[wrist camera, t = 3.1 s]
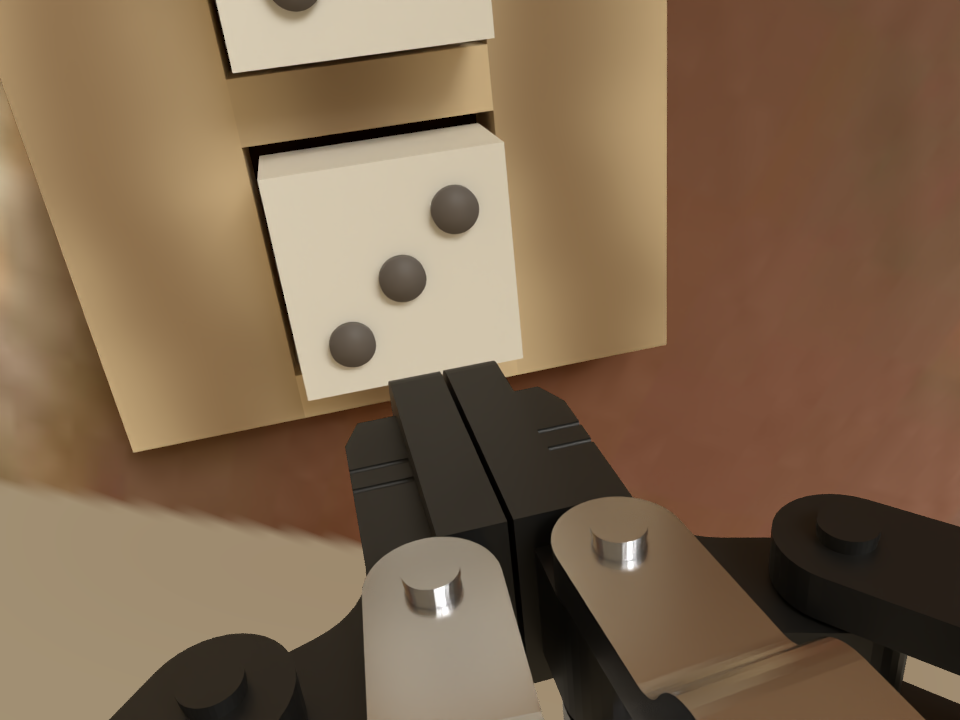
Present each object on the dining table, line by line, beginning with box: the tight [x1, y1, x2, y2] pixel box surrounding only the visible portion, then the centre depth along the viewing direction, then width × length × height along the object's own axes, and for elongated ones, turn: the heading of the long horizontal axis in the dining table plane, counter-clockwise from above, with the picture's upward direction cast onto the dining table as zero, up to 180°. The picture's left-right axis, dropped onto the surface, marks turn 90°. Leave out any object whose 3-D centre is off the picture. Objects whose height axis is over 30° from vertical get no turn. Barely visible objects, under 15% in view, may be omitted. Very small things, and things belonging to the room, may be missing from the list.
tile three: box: [257, 123, 523, 401], centre depth 18 cm, size 5×5×3 cm
